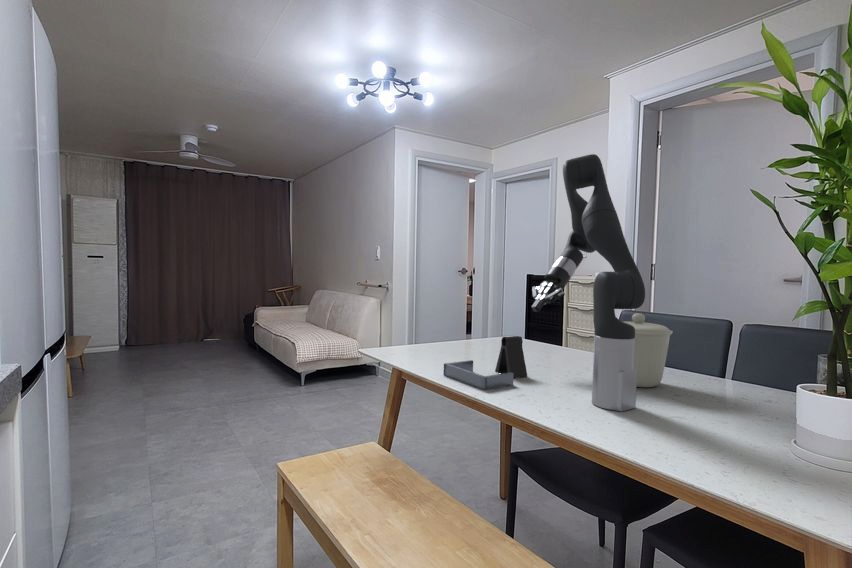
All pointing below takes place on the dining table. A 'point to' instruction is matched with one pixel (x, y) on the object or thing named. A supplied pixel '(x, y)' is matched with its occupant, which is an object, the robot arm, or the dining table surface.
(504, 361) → the black folding stand
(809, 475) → the dining table surface
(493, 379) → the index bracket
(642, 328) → the canister
